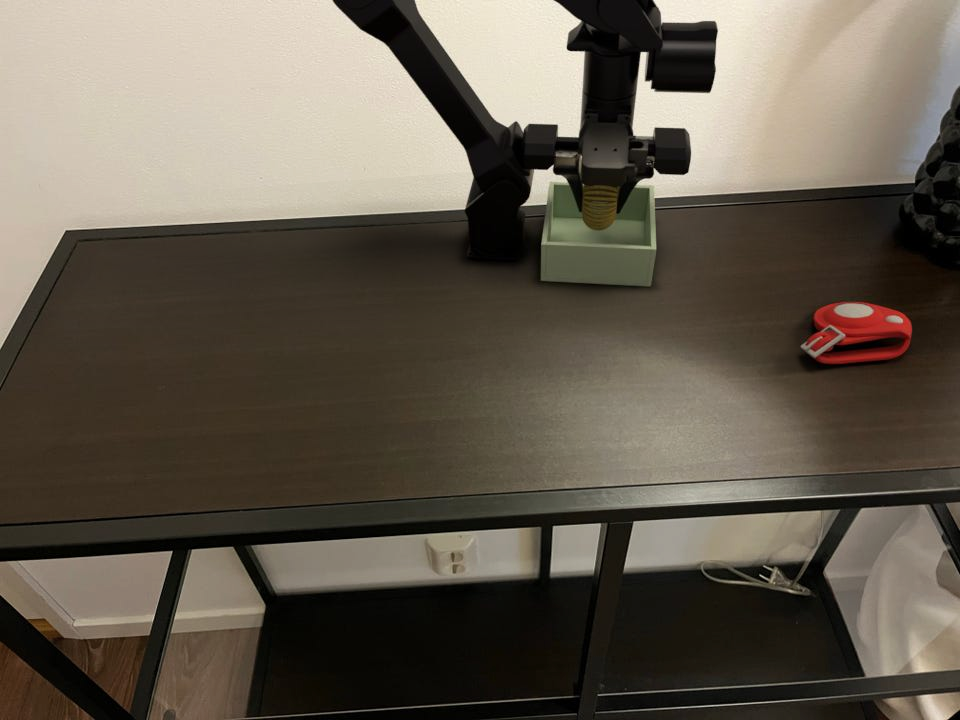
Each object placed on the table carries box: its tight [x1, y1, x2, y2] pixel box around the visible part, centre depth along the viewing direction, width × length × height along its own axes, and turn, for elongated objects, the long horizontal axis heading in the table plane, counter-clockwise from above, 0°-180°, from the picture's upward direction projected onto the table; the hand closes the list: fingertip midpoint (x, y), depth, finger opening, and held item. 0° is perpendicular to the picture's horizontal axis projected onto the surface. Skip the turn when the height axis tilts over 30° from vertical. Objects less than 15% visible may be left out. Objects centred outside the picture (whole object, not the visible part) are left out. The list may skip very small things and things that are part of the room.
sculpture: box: [582, 185, 619, 231], centre depth 89 cm, size 8×4×8 cm, turn 170°
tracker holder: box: [800, 301, 913, 365], centre depth 80 cm, size 12×4×10 cm
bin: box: [540, 181, 657, 288], centre depth 93 cm, size 13×13×6 cm
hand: (599, 211), depth 90 cm, fingers closed on sculpture, 4 cm apart
